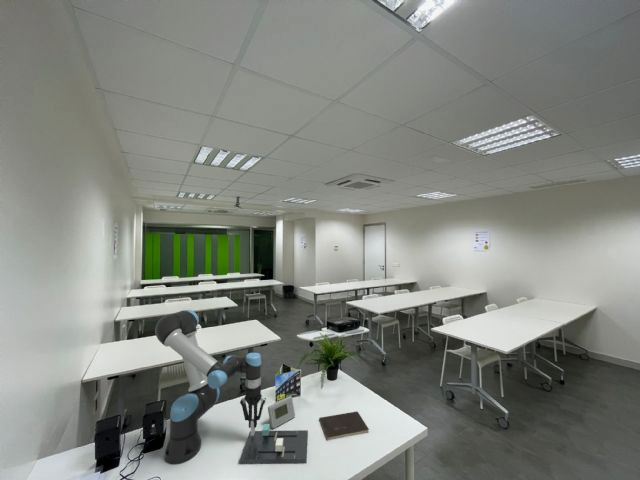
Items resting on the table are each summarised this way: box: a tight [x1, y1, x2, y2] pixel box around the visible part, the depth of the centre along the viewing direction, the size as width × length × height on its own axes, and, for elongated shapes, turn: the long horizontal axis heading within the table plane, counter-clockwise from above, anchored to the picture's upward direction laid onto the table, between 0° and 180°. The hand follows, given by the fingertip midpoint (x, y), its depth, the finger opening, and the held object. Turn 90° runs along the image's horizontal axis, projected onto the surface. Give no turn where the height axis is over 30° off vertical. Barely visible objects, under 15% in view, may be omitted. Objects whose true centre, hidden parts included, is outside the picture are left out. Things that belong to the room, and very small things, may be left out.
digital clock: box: [267, 395, 296, 430], centre depth 141 cm, size 16×9×11 cm, turn 121°
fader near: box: [275, 438, 283, 452], centre depth 116 cm, size 3×4×4 cm
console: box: [238, 429, 309, 465], centre depth 121 cm, size 30×18×2 cm, turn 91°
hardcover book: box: [318, 411, 370, 441], centre depth 136 cm, size 16×23×2 cm
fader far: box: [261, 423, 271, 436], centre depth 126 cm, size 3×4×4 cm
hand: (252, 433), depth 126 cm, fingers closed
